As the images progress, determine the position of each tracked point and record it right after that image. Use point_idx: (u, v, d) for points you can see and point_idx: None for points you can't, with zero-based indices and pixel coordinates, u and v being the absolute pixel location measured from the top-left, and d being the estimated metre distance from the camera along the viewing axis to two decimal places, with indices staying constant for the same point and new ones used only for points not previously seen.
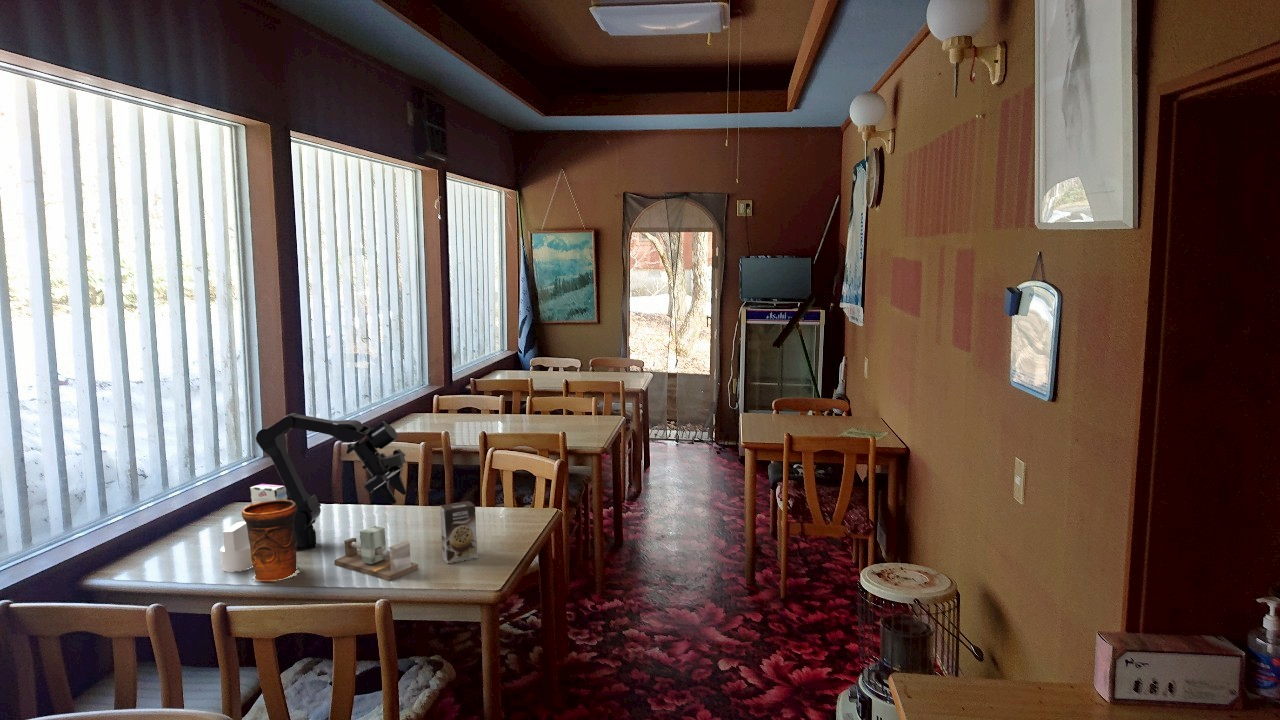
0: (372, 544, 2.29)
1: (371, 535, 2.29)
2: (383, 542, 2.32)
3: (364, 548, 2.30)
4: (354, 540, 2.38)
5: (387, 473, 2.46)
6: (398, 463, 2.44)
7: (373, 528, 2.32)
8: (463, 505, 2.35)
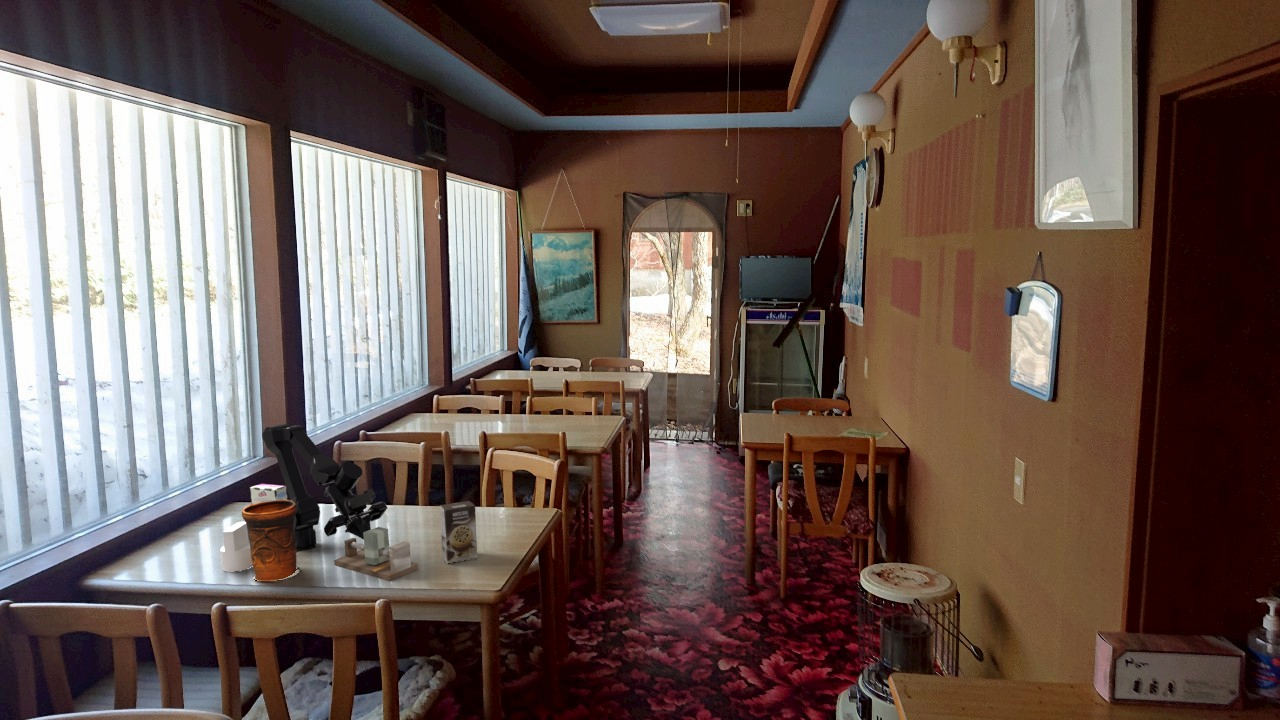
0: (375, 545, 2.28)
1: (375, 536, 2.28)
2: (386, 543, 2.32)
3: (367, 549, 2.29)
4: (354, 540, 2.38)
5: (368, 511, 2.37)
6: (357, 503, 2.30)
7: (376, 529, 2.32)
8: (463, 505, 2.35)
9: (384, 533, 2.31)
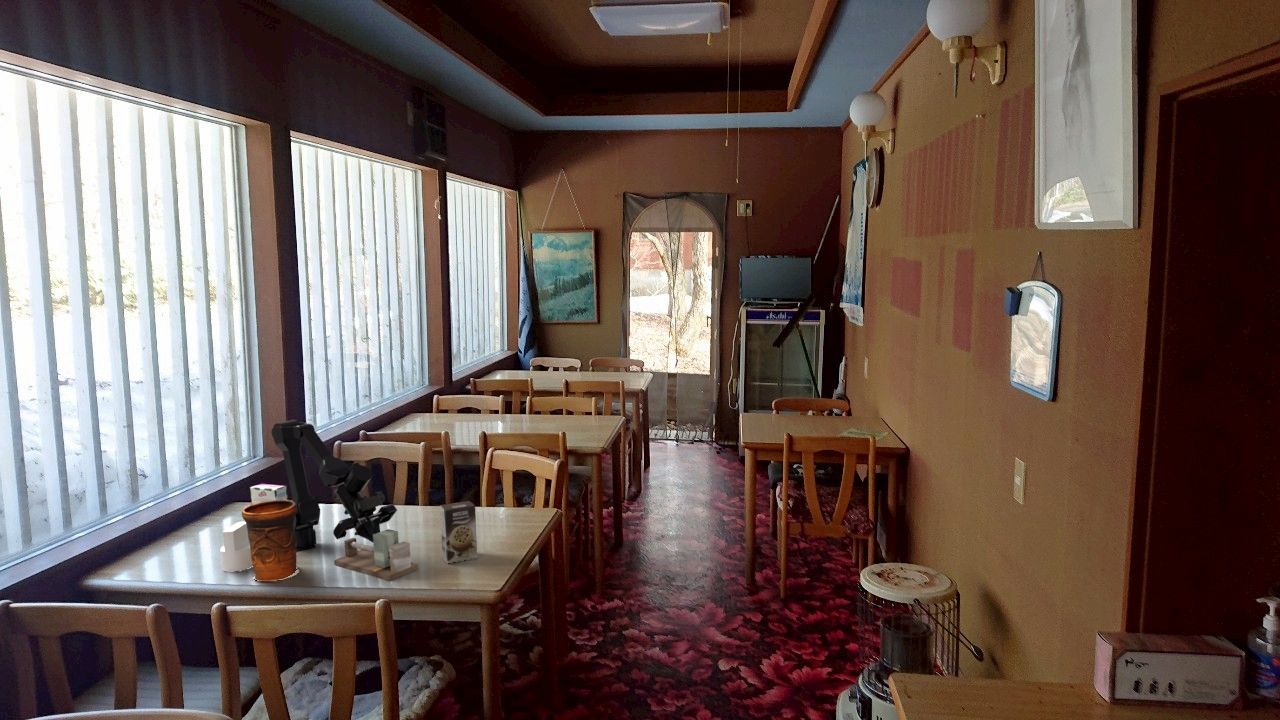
0: (385, 547, 2.26)
1: (385, 539, 2.26)
2: None
3: (377, 551, 2.27)
4: (354, 540, 2.38)
5: (377, 513, 2.35)
6: (367, 506, 2.27)
7: (386, 531, 2.29)
8: (463, 505, 2.35)
9: (394, 535, 2.28)
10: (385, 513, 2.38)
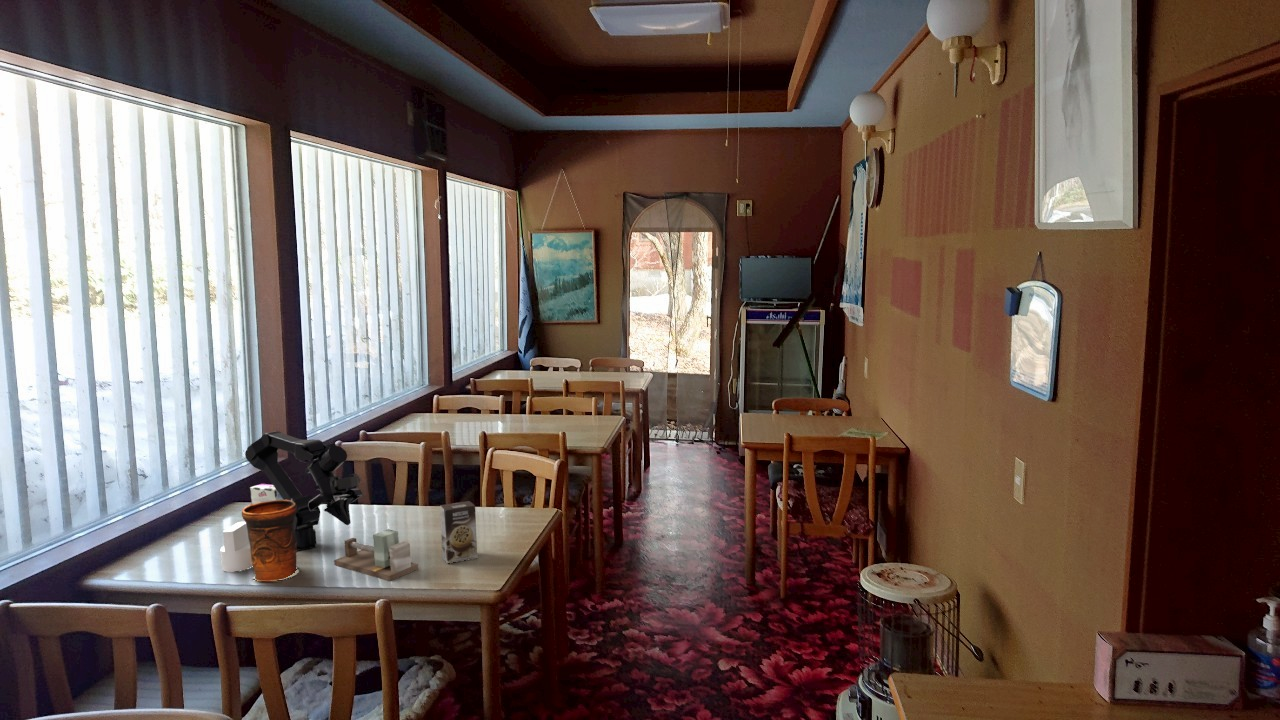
0: (385, 547, 2.26)
1: (385, 539, 2.26)
2: None
3: (377, 551, 2.27)
4: (354, 540, 2.38)
5: (347, 494, 2.43)
6: (347, 485, 2.37)
7: (386, 531, 2.29)
8: (463, 505, 2.35)
9: (394, 535, 2.28)
10: (350, 496, 2.46)
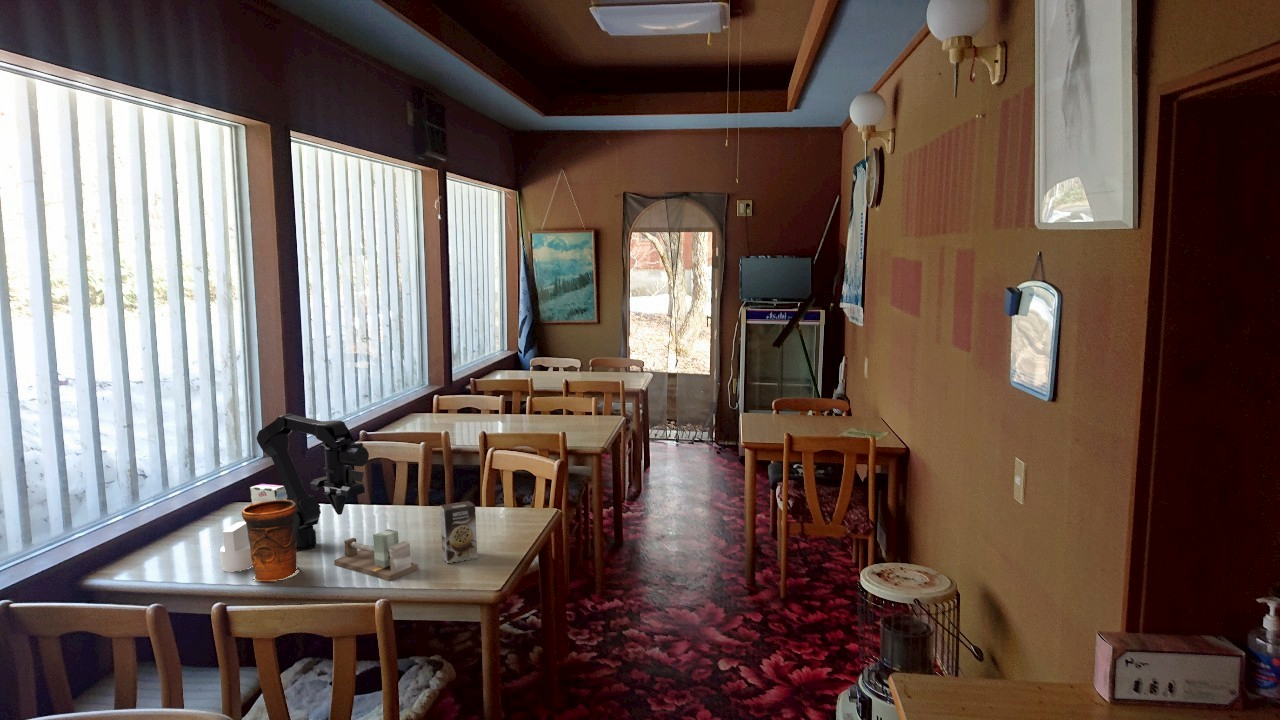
0: (385, 547, 2.26)
1: (385, 539, 2.26)
2: None
3: (377, 551, 2.27)
4: (354, 540, 2.38)
5: None
6: (362, 479, 2.47)
7: (386, 531, 2.29)
8: (463, 505, 2.35)
9: (394, 535, 2.28)
10: None
